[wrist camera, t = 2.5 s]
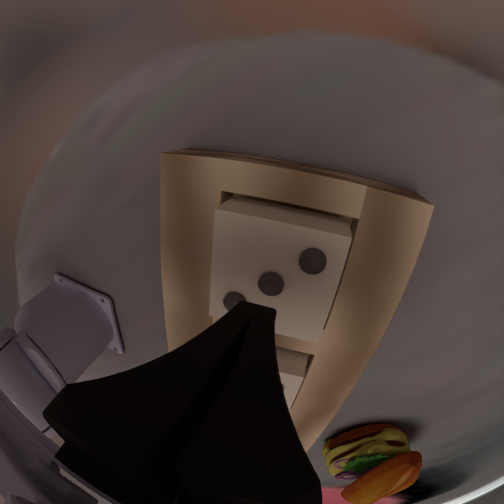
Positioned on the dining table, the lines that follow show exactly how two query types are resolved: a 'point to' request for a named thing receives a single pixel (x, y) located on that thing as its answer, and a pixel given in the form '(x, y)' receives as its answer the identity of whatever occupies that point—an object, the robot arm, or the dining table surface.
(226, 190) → the tile board
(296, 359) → the two dot tile
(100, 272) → the dining table surface
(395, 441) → the cheeseburger
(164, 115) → the dining table surface
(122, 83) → the dining table surface
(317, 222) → the three dot tile
